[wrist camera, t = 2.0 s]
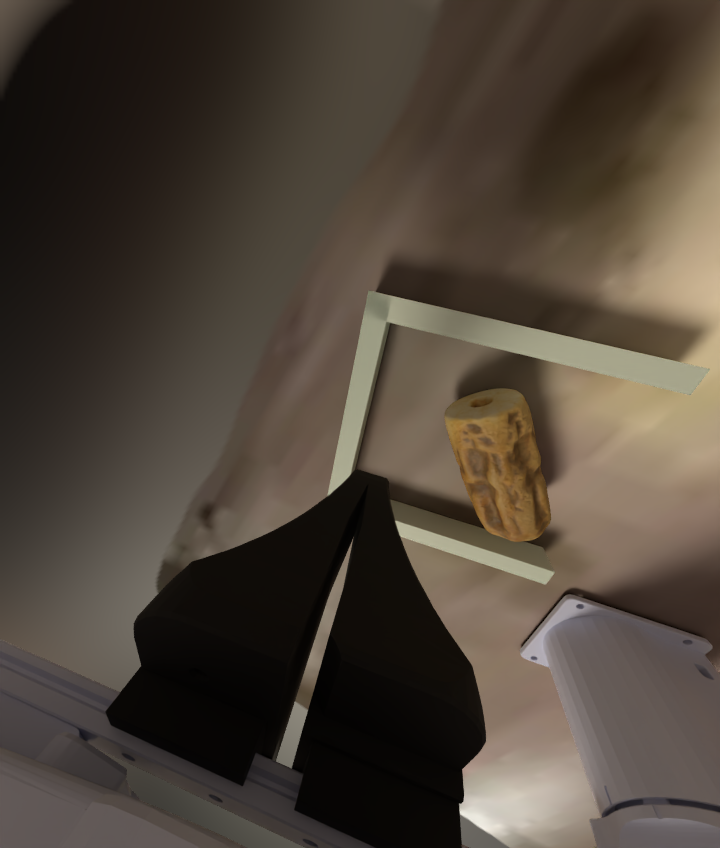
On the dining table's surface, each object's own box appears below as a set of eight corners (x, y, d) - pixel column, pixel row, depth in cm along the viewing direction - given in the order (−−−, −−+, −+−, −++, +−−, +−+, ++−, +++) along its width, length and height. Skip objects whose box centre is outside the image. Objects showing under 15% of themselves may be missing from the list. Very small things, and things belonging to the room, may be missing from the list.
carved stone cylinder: (540, 496, 18) (570, 543, 14) (473, 508, 19) (485, 553, 16) (512, 378, 16) (539, 399, 12) (439, 400, 17) (442, 425, 13)
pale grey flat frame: (673, 360, 14) (710, 369, 12) (534, 559, 20) (545, 584, 18) (375, 292, 15) (368, 290, 14) (333, 494, 21) (324, 511, 20)
